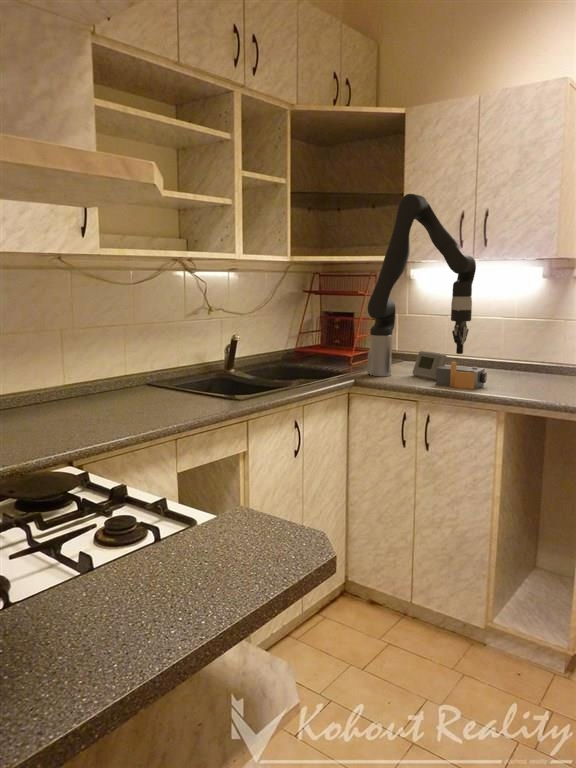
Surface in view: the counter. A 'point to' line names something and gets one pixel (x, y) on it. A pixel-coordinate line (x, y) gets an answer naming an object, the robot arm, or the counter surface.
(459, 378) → the orange flat l-shaped piece
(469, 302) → the robot arm
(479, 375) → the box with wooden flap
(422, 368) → the digital clock
